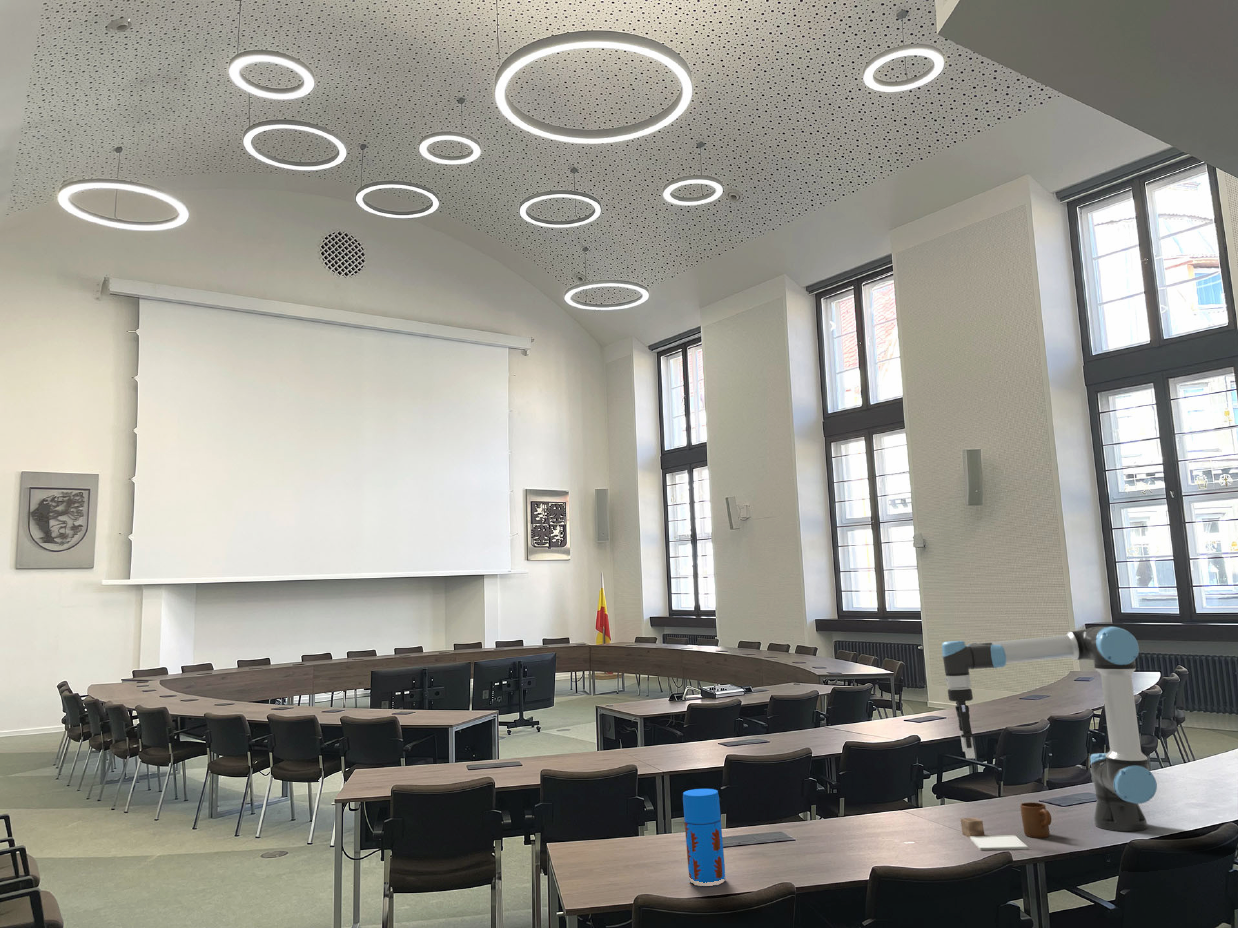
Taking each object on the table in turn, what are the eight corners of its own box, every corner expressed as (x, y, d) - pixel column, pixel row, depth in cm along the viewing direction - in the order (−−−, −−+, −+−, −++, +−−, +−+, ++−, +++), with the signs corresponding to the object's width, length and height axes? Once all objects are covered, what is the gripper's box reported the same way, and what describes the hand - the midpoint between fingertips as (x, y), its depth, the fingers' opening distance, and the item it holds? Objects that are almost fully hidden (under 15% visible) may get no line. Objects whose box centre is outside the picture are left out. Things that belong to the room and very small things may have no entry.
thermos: (723, 874, 253) (715, 787, 258) (728, 885, 243) (721, 794, 247) (687, 877, 253) (680, 790, 257) (691, 888, 242) (684, 797, 247)
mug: (1064, 839, 265) (1059, 808, 267) (1042, 842, 264) (1038, 810, 265) (1040, 831, 276) (1035, 801, 278) (1019, 833, 275) (1015, 803, 277)
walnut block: (976, 833, 280) (974, 817, 281) (984, 836, 275) (982, 820, 276) (962, 834, 279) (960, 818, 280) (970, 838, 274) (967, 821, 275)
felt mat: (1015, 837, 271) (1015, 835, 271) (1028, 849, 258) (1028, 846, 258) (970, 838, 273) (969, 836, 274) (980, 850, 260) (980, 847, 260)
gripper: (945, 685, 293) (954, 748, 289) (949, 692, 269) (959, 761, 265) (968, 684, 291) (977, 748, 287) (974, 691, 267) (985, 760, 263)
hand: (968, 754), depth 276 cm, fingers open, 13 cm apart
